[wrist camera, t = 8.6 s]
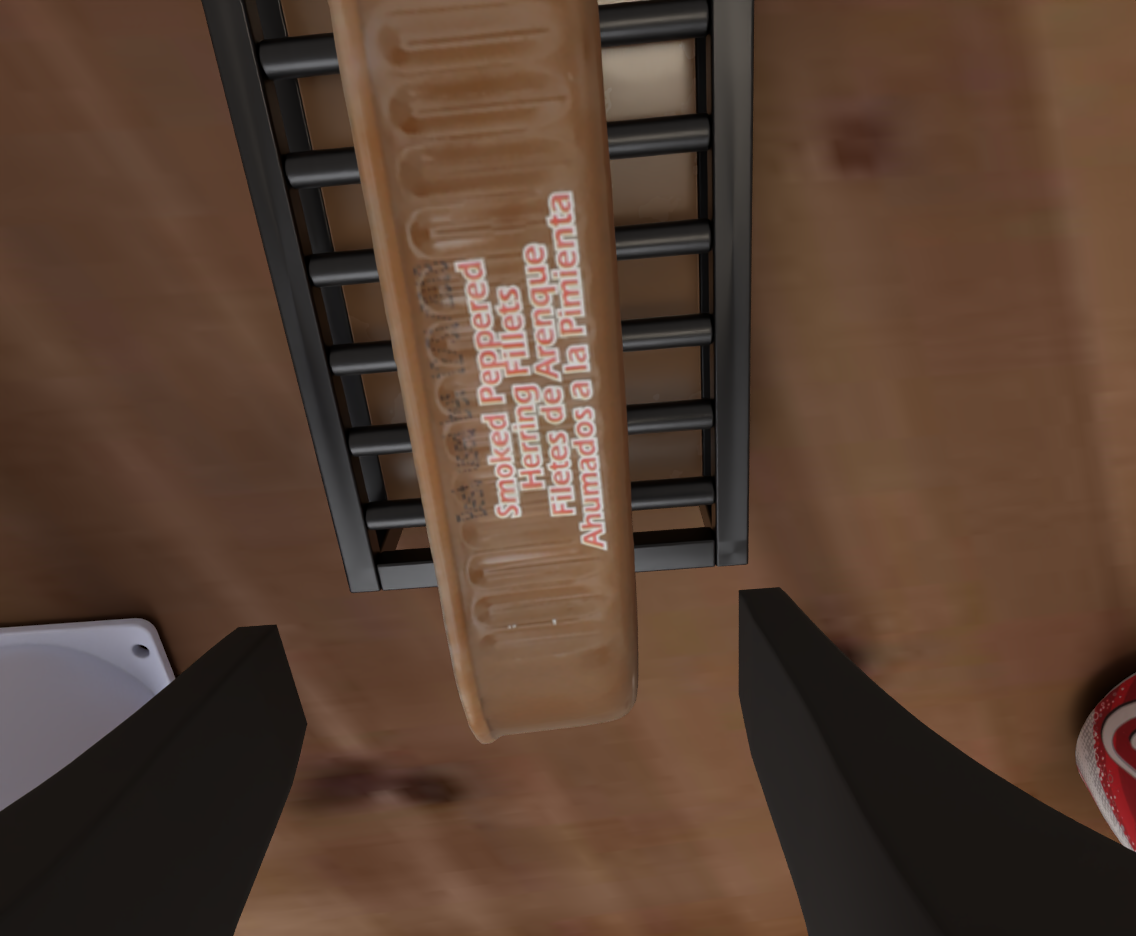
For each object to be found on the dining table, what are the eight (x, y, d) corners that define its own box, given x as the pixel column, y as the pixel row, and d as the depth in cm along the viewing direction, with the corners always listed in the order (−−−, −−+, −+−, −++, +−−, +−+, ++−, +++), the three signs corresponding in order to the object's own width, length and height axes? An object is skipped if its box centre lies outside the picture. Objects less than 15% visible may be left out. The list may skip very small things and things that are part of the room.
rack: (724, 497, 23) (748, 565, 20) (379, 524, 24) (349, 594, 20) (721, -211, 16) (758, -278, 13) (228, -154, 16) (147, -206, 13)
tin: (380, -205, 13) (130, -557, 6) (571, -226, 13) (570, -616, 6) (495, 563, 20) (449, 865, 12) (623, 554, 20) (654, 853, 12)
